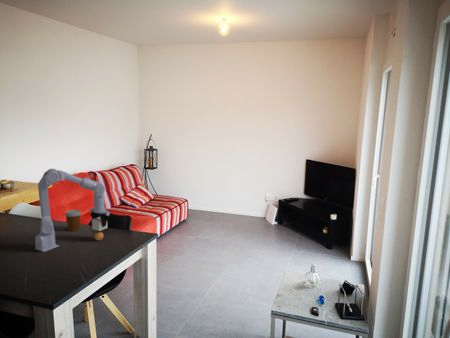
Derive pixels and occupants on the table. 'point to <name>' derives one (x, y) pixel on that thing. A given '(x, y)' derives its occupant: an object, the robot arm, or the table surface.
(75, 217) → the disposable coffee cup
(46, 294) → the table surface
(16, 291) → the table surface
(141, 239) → the table surface
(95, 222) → the pale grey cube
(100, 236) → the ball
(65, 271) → the table surface
